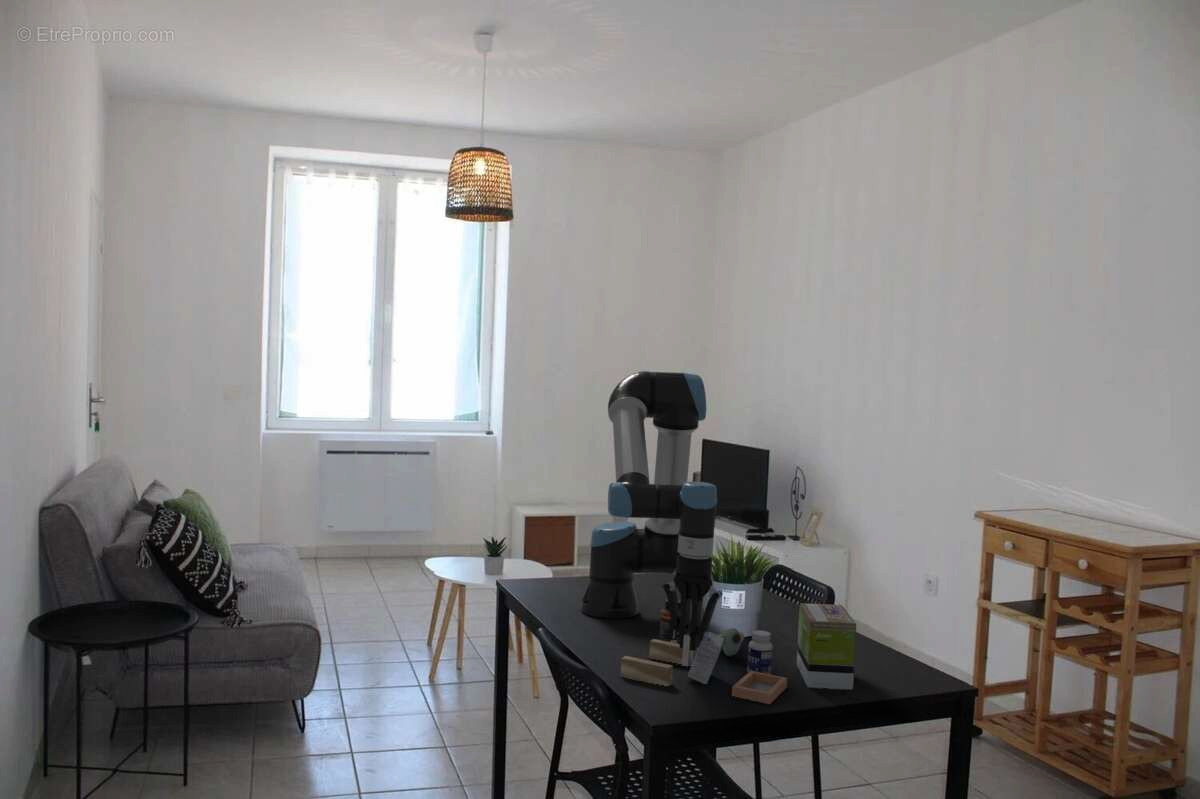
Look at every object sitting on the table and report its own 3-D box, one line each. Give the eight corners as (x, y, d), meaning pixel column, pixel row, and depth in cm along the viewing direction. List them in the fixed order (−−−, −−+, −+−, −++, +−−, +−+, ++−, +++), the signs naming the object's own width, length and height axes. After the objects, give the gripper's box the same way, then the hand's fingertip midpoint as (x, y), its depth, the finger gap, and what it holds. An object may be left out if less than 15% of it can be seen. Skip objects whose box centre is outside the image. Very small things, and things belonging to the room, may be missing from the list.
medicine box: (706, 685, 211) (721, 648, 210) (686, 676, 212) (702, 639, 211) (710, 674, 218) (725, 638, 217) (691, 665, 219) (706, 629, 218)
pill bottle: (742, 670, 222) (744, 630, 222) (760, 667, 225) (762, 628, 224) (757, 677, 218) (759, 637, 217) (776, 674, 220) (778, 634, 220)
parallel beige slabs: (652, 656, 229) (653, 639, 229) (697, 665, 224) (698, 647, 224) (620, 676, 214) (621, 658, 214) (668, 687, 209) (669, 668, 209)
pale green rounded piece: (738, 652, 235) (740, 623, 235) (750, 657, 232) (751, 628, 232) (711, 656, 231) (713, 627, 231) (722, 661, 228) (724, 632, 227)
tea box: (794, 665, 228) (798, 601, 227) (839, 668, 227) (843, 603, 227) (806, 688, 213) (810, 619, 212) (854, 691, 212) (858, 622, 212)
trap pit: (750, 679, 216) (750, 670, 216) (786, 687, 212) (787, 678, 212) (731, 696, 205) (732, 686, 205) (769, 704, 202) (770, 694, 202)
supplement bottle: (680, 653, 232) (682, 605, 232) (655, 649, 234) (657, 601, 234) (686, 646, 238) (689, 599, 237) (662, 642, 240) (665, 596, 239)
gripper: (660, 553, 214) (652, 662, 215) (717, 562, 208) (709, 675, 209) (673, 548, 221) (666, 654, 222) (729, 557, 215) (721, 665, 216)
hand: (687, 664), depth 215 cm, fingers closed
